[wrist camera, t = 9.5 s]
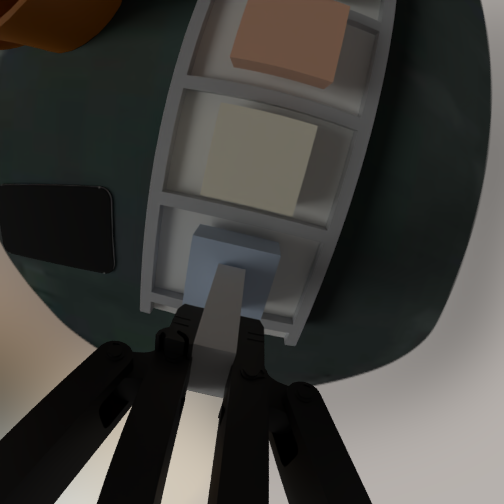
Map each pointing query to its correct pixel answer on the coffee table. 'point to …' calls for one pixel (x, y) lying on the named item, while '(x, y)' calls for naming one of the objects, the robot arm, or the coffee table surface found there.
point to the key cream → (257, 158)
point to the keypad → (277, 102)
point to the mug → (53, 22)
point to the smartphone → (59, 224)
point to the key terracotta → (291, 39)
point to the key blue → (232, 254)
